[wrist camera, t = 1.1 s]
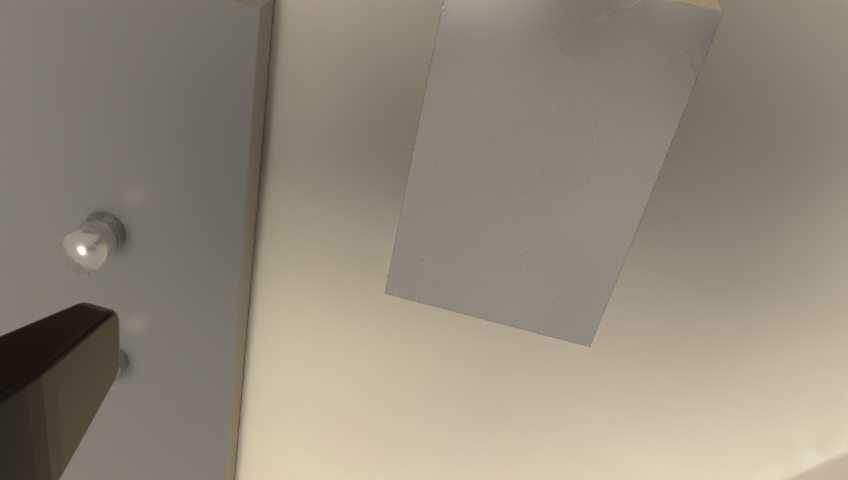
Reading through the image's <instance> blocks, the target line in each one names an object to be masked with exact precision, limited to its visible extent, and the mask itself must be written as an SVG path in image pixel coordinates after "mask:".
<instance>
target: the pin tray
mask: <svg viewBox="0 0 848 480" xmlns="http://www.w3.org/2000/svg"><path fill="white" fill-rule="evenodd" d="M273 8H274V0H0V336H1V335H4V334H6V333H9V332H11V331H13V330H16V329H18V328H21V327H23V326H25V325H28V324H30V323H33V322H35V321H37V320H40V319H42V318H44V317H47V316H49V315H52V314H54V313H56V312H59V311H61V310H64V309H66V308H68V307H71V306H73V305H76V304H79V303H91V304H94V305H98V306H101V307H105V308H109V309H112V310H113V311H115V312H116V313H117V315H118V317H119V328H120V366H119V370H118V374H117V377H116V379H115V381H114V383H113V385H112V387H111V389H110V390H109V392H108V394H107V396H106V398H105V399H104V401H103V403H102V405H101V407H100V408H99V410H98V412H97V414H96V416H95V417H94V419H93V421H92V423H91V425H90V426H89V428H88V430H87V432H86V434H85V436H84V437H83V439H82V441H81V443H80V445H79V446H78V448H77V450H76V452H75V454H74V455H73V457H72V459H71V461H70V463H69V464H68V466H67V468H66V470H65V472H64V473H63V475H62V477H61V478H60V480H235V468H236V455H237V443H238V431H239V419H240V407H241V395H242V383H243V371H244V359H245V347H246V335H247V322H248V310H249V298H250V286H251V274H252V262H253V250H254V238H255V226H256V214H257V201H258V189H259V177H260V165H261V153H262V141H263V129H264V117H265V105H266V93H267V81H268V68H269V56H270V44H271V32H272V20H273Z"/></svg>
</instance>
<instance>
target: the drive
mask: <svg viewBox="0 0 848 480" xmlns="http://www.w3.org/2000/svg"><path fill="white" fill-rule="evenodd" d="M722 14H723V10H722V9H721V7H720V6H719V4H718V2H717V1H716V0H443V5H442V10H441V15H440V20H439V25H438V30H437V35H436V40H435V45H434V50H433V55H432V60H431V65H430V70H429V75H428V80H427V85H426V90H425V95H424V100H423V105H422V110H421V115H420V120H419V125H418V130H417V135H416V140H415V145H414V150H413V155H412V160H411V165H410V170H409V175H408V180H407V185H406V190H405V195H404V200H403V205H402V210H401V215H400V220H399V225H398V230H397V235H396V240H395V245H394V250H393V255H392V260H391V265H390V270H389V275H388V280H387V285H386V290H385V294H388V295H392V296H396V297H400V298H404V299H407V300H411V301H415V302H419V303H423V304H427V305H431V306H434V307H438V308H442V309H446V310H450V311H454V312H458V313H461V314H465V315H469V316H473V317H477V318H481V319H485V320H488V321H492V322H496V323H500V324H504V325H508V326H512V327H515V328H519V329H523V330H527V331H531V332H535V333H539V334H542V335H546V336H550V337H554V338H558V339H562V340H566V341H569V342H573V343H577V344H581V345H585V346H589V347H590V345H591V343H592V340H593V338H594V335H595V333H596V330H597V328H598V325H599V323H600V320H601V318H602V315H603V313H604V310H605V308H606V305H607V303H608V300H609V298H610V295H611V293H612V290H613V288H614V285H615V283H616V280H617V278H618V275H619V273H620V270H621V268H622V265H623V263H624V260H625V258H626V255H627V253H628V250H629V248H630V245H631V243H632V240H633V238H634V235H635V233H636V230H637V228H638V225H639V223H640V220H641V218H642V215H643V213H644V210H645V208H646V205H647V203H648V200H649V197H650V195H651V192H652V190H653V187H654V185H655V182H656V180H657V177H658V175H659V172H660V170H661V167H662V165H663V162H664V160H665V157H666V155H667V152H668V150H669V147H670V145H671V142H672V140H673V137H674V135H675V132H676V130H677V127H678V125H679V122H680V120H681V117H682V115H683V112H684V110H685V107H686V105H687V102H688V100H689V97H690V95H691V92H692V90H693V87H694V85H695V82H696V80H697V77H698V75H699V72H700V70H701V67H702V65H703V62H704V60H705V57H706V55H707V52H708V49H709V47H710V44H711V42H712V39H713V37H714V34H715V32H716V29H717V27H718V24H719V22H720V19H721V17H722Z"/></svg>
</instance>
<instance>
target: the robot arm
mask: <svg viewBox="0 0 848 480" xmlns="http://www.w3.org/2000/svg"><path fill="white" fill-rule="evenodd" d="M119 366H120V328H119V317H118V315H117V313H116V312H115V311H113V310H112V309H109V308H105V307H101V306H98V305H94V304H91V303H79V304H76V305H73V306H71V307H68V308H66V309H64V310H61V311H59V312H56V313H54V314H52V315H49V316H47V317H44V318H42V319H40V320H37V321H35V322H33V323H30V324H28V325H25V326H23V327H21V328H18V329H16V330H13V331H11V332H9V333H6V334H4V335H1V336H0V480H60V478H61V477H62V475H63V473H64V472H65V470H66V468H67V466H68V464H69V463H70V461H71V459H72V457H73V455H74V454H75V452H76V450H77V448H78V446H79V445H80V443H81V441H82V439H83V437H84V436H85V434H86V432H87V430H88V428H89V426H90V425H91V423H92V421H93V419H94V417H95V416H96V414H97V412H98V410H99V408H100V407H101V405H102V403H103V401H104V399H105V398H106V396H107V394H108V392H109V390H110V389H111V387H112V385H113V383H114V381H115V379H116V377H117V374H118V370H119Z"/></svg>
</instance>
